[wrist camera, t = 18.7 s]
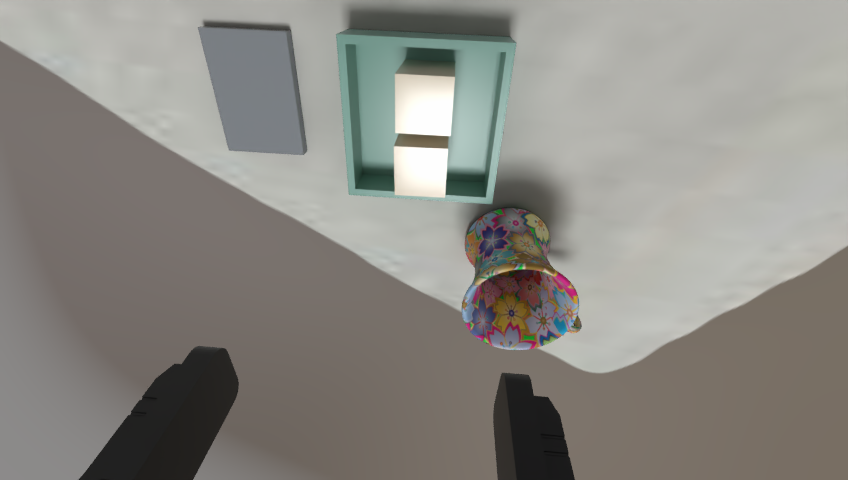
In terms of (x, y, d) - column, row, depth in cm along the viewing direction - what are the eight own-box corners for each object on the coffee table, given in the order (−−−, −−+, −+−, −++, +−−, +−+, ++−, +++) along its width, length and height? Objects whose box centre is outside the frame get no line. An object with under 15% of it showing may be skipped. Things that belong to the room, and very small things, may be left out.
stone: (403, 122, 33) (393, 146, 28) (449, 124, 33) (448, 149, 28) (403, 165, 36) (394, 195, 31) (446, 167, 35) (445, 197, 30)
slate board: (204, 26, 31) (197, 27, 30) (290, 30, 31) (285, 31, 30) (234, 146, 36) (228, 150, 36) (307, 151, 36) (303, 155, 35)
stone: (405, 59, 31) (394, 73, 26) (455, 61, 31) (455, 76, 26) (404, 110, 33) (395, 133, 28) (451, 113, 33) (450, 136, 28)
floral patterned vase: (443, 249, 41) (440, 321, 32) (497, 182, 37) (510, 245, 28) (531, 298, 44) (550, 376, 35) (591, 242, 39) (630, 316, 31)
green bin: (348, 29, 30) (336, 34, 27) (510, 36, 30) (516, 42, 27) (358, 176, 37) (348, 194, 34) (489, 185, 37) (491, 204, 34)
